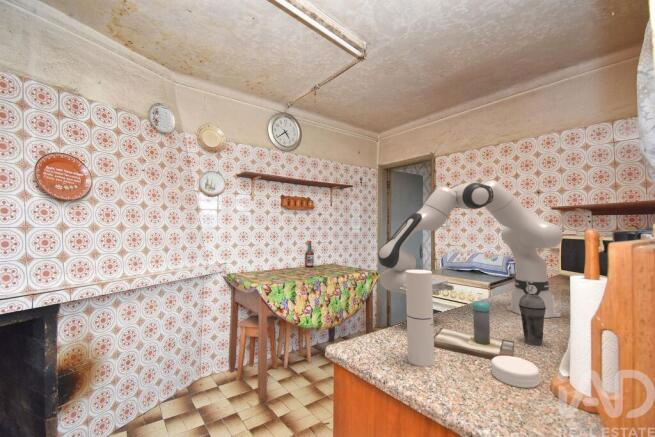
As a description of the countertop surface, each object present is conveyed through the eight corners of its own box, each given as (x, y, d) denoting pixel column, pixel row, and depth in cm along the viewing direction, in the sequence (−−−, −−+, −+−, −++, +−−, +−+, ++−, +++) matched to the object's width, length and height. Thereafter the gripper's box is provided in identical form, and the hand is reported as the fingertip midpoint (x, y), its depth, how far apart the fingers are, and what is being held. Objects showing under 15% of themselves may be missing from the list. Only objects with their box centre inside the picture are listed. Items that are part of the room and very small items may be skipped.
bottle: (474, 337, 92) (473, 300, 92) (491, 341, 89) (490, 302, 89) (472, 342, 88) (471, 303, 88) (489, 346, 85) (488, 305, 86)
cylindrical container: (402, 357, 82) (400, 270, 83) (422, 353, 85) (419, 269, 86) (419, 368, 76) (417, 274, 76) (440, 363, 78) (437, 272, 79)
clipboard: (441, 331, 102) (440, 325, 102) (514, 345, 90) (513, 338, 90) (429, 345, 90) (428, 338, 90) (511, 363, 77) (511, 355, 78)
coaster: (524, 393, 64) (523, 377, 64) (483, 373, 73) (482, 359, 73) (548, 382, 69) (547, 367, 69) (506, 365, 77) (506, 351, 78)
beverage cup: (552, 348, 87) (550, 282, 88) (526, 346, 89) (523, 281, 89) (540, 338, 94) (537, 278, 95) (515, 337, 96) (513, 277, 96)
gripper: (395, 280, 108) (426, 285, 97) (428, 273, 120) (460, 277, 108) (396, 297, 108) (427, 304, 97) (429, 288, 120) (460, 294, 108)
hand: (445, 290), depth 103 cm, fingers open, 8 cm apart
